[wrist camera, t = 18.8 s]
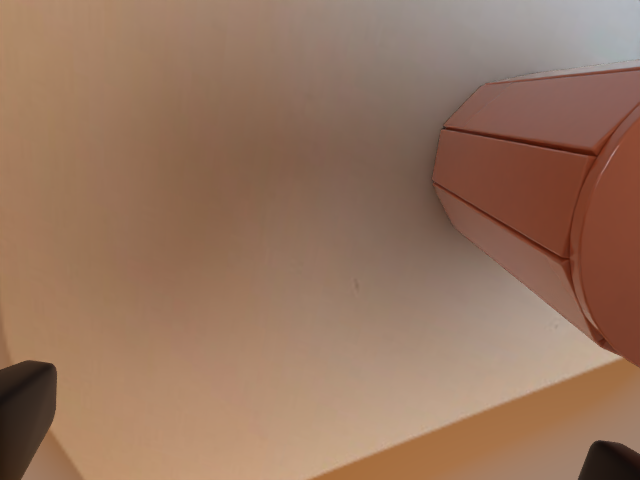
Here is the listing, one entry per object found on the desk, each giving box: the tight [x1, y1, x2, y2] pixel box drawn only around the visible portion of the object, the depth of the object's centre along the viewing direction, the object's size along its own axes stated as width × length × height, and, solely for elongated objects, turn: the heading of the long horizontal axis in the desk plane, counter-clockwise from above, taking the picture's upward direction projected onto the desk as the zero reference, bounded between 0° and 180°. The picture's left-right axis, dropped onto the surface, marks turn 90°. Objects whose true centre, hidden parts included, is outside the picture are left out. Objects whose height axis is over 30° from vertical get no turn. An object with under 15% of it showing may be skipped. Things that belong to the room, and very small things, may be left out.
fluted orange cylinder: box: [432, 59, 640, 368], centre depth 15 cm, size 7×7×11 cm
